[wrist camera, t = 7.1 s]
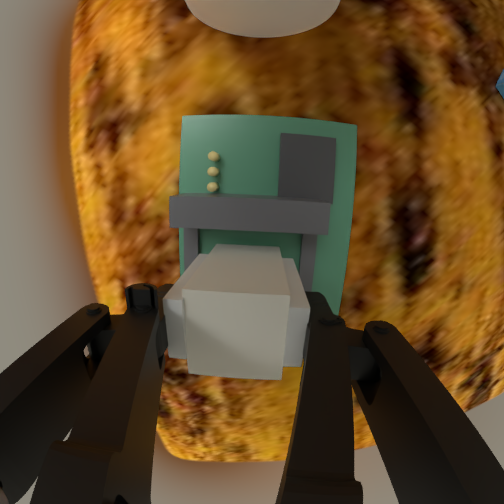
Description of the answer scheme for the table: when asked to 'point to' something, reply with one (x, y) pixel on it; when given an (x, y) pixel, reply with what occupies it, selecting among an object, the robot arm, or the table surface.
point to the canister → (263, 15)
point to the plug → (237, 313)
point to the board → (269, 192)
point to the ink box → (501, 84)
